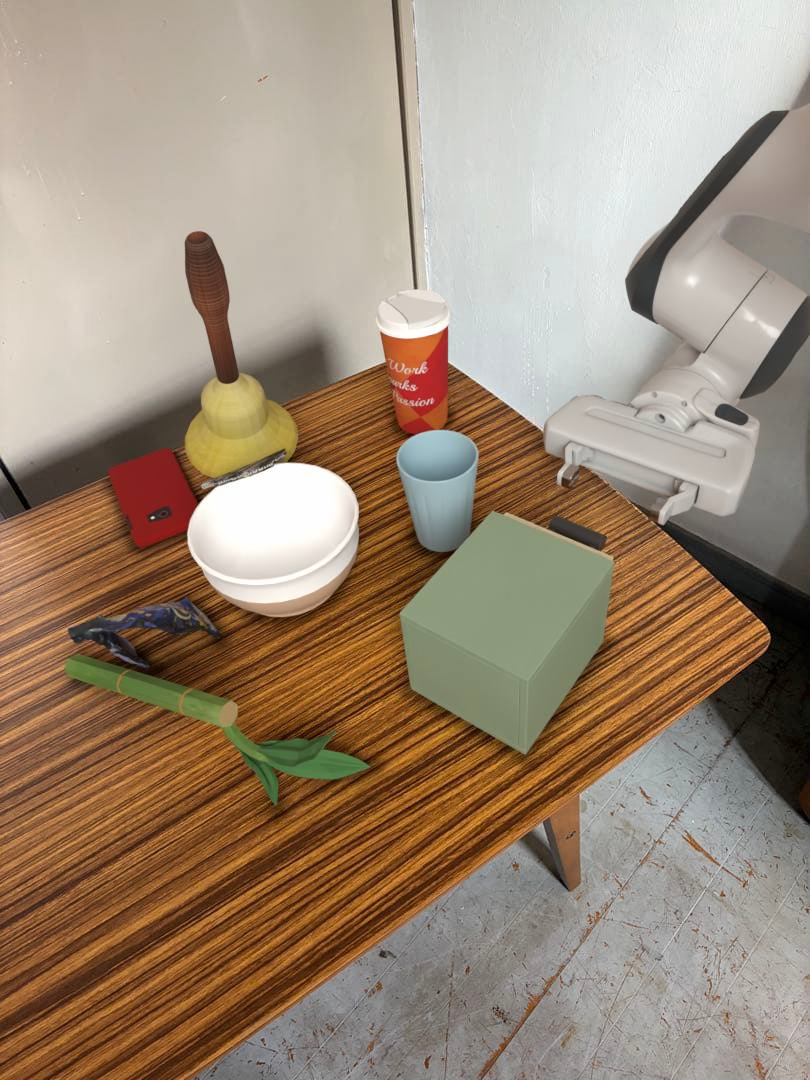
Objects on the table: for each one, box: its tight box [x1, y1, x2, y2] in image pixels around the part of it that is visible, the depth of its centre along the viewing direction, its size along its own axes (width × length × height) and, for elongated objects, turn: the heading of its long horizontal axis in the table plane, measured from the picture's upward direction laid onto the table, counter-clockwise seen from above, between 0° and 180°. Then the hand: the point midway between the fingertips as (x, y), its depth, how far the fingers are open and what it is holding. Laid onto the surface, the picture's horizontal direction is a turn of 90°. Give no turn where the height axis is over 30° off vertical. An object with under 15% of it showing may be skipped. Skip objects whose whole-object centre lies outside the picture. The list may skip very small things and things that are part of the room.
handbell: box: [184, 230, 299, 479], centre depth 76 cm, size 12×12×25 cm
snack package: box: [67, 596, 223, 671], centre depth 71 cm, size 12×6×12 cm
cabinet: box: [399, 510, 616, 755], centre depth 66 cm, size 13×11×10 cm
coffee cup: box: [374, 289, 452, 435], centre depth 90 cm, size 8×8×15 cm
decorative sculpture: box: [199, 448, 287, 490], centre depth 83 cm, size 20×1×10 cm
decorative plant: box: [63, 653, 371, 807], centre depth 66 cm, size 6×8×30 cm
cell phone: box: [107, 447, 200, 548], centre depth 89 cm, size 8×15×1 cm, turn 27°
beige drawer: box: [503, 511, 614, 561], centre depth 68 cm, size 17×10×9 cm, turn 143°
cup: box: [395, 429, 480, 553], centre depth 78 cm, size 8×8×10 cm
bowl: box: [186, 462, 360, 618], centre depth 76 cm, size 16×16×8 cm
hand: (608, 499), depth 74 cm, fingers open, 8 cm apart
